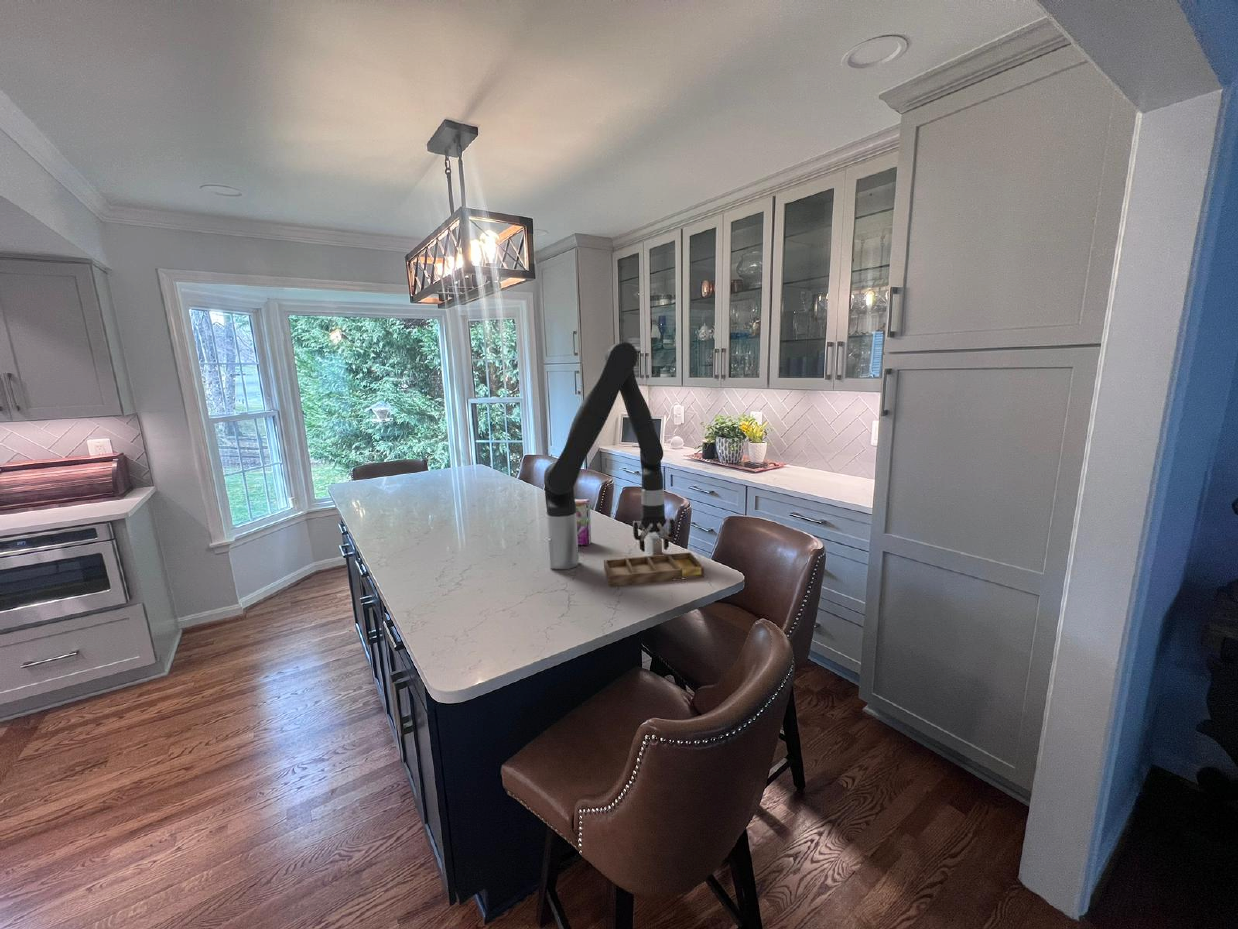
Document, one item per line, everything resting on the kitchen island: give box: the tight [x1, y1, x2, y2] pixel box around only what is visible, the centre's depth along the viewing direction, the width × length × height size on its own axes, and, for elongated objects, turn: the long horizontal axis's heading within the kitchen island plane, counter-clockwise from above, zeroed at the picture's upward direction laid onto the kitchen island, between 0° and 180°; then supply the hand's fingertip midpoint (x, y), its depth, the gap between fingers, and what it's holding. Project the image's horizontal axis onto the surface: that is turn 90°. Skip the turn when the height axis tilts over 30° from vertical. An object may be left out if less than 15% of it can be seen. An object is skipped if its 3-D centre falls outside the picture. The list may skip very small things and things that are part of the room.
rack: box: [603, 552, 705, 587], centre depth 150 cm, size 28×14×3 cm, turn 99°
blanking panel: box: [645, 532, 663, 556], centre depth 166 cm, size 3×10×7 cm, turn 9°
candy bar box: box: [574, 498, 592, 547], centre depth 180 cm, size 11×5×16 cm, turn 84°
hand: (654, 550), depth 166 cm, fingers open, 7 cm apart
